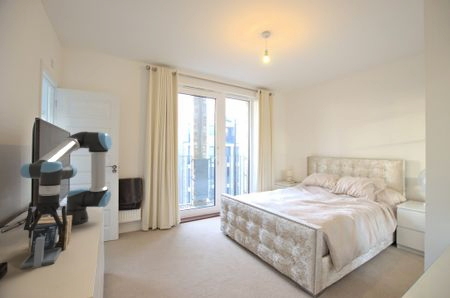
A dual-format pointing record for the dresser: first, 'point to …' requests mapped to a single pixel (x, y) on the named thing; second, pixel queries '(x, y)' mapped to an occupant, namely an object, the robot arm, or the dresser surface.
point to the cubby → (65, 230)
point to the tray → (41, 255)
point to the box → (46, 231)
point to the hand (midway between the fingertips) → (45, 242)
